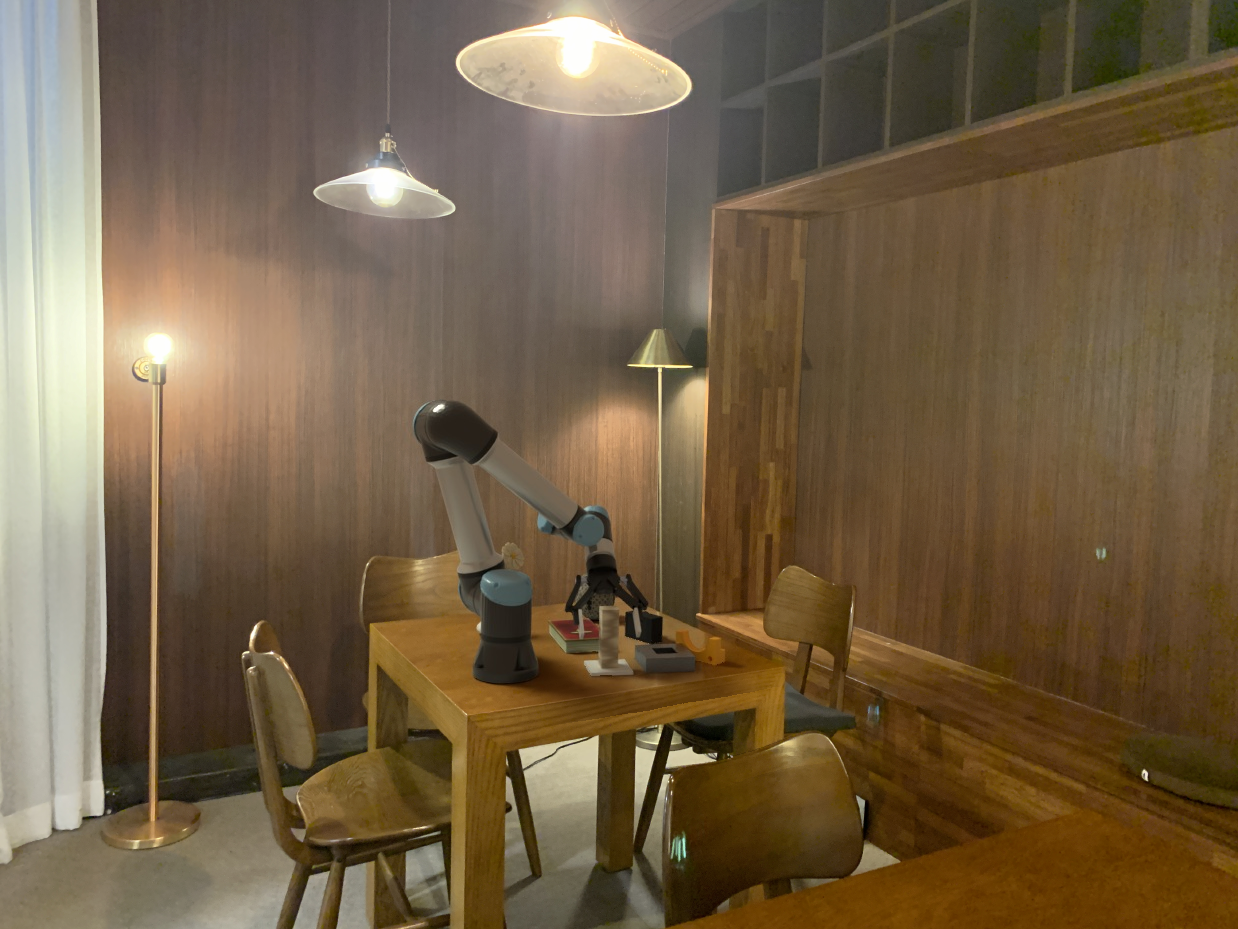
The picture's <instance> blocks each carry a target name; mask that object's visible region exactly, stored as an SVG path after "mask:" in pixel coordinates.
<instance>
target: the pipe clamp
mask: <svg viewBox="0 0 1238 929" xmlns="http://www.w3.org/2000/svg"><path fill="white" fill-rule="evenodd" d="M689 631H690V630H687V629H683V628H681V629H679V630H676V631H675V632H676V633H675V644H676V643H682V644H683V645H684V646H685V647H686V648H687V649H688V650H689V651H690V652H691V653H692V654H693V655H694V656H695V660H697V661H696V662H699V661H701V662H700V663H703V662H705V663H704V664H707V663H708V664H707V665H711V664H712V665H711V666H718V665H720V664H723V663H725V662H726V649H725V648H722V637H719V636H713V637H710V638H708V643H707V645H706V647H703V648H698V647H697V646H695V644H694V643H693V642H692V640H691V638H690V634H689ZM722 662H723V663H722ZM717 664H718V665H717Z"/></svg>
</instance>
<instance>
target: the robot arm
mask: <svg viewBox="0 0 1238 929" xmlns="http://www.w3.org/2000/svg"><path fill="white" fill-rule="evenodd" d="M412 430H413V434H414V436H415V439H416V440H417V441H418V443H419V444H420V445H421V447H422V451H423V455H424V457H425V458H424V459H425V461H426V464H428V465H430V466H432V467H433V468H434V469H435V473H436V477H437V480H438V484H439V487H440V491H441V496H442V498H443V502H444V506H445V510H446V513H447V516H448V520H449V523H450V527H451V532H452V534H453V538H454V542H455V546H456V550H457V553H458V556H459V559H460V561H459V564H458V566H457V567H456V572H457V576H458V577H457V578H458V580H459V581H458V585H457V590H458V595H459V598H460V601H461V603H462V604H463V606H464V607H465V608H466V609H468V610H469V611H470V612H472V613H474V614H475V615H477V616H478V617H479V618H480V622H481V633H480V642H479V645H478V649H477V652H476V655H475V658H474V660H473V664H472V676H473V677H474V678H475V679H476V678H477V680H479V681H482V682H485V683H493V684H514V683H515V684H516V683H521V682H527V681H531V680H532V679H534V678H537V676H538V675H539V661H538V658H537V655H536V652H535V649H534V646H533V643H532V621H533V620H532V618H533V617H532V616H533V614H532V613H533V610H532V609H533V593H534V591H533V584H532V579H531V578H530V576H529V575H528V574H526V573H525V572H522V571H519V570H515V569H512V570H509V569H510V568H509V569H507V568H506V564H505V562H504V559H503V556H502V554H500V553H499V552H497V551H496V550H495V547H494V543H493V538H492V535H491V531H490V528H489V523H488V520H487V517H486V516H487V515H486V513H485V512H486V511H485V509H484V506H483V505H484V504H483V501H482V498H481V494H480V490H479V487H478V482H477V480H476V476H475V471H474V468H473V466H478V467H480V468H481V469H483V470H484V471H485V472H486V473H487V474H489V475H490V476H491V477H493V478H494V479H495V480H496V481H498V482H499V483H500V484H501V485H502V486H504V487H505V489H506V488H507V490H509V491H510V492H511V493H513V494H514V495H515V496H516V497H518V498H519V499H520V500H521V501H523V503H525V504H527V505H528V506H529V507H530V508H532V509H533V510H534V511H536V512H537V513H538V516H537V524H536V525H537V528H538V531H540V532H541V533H544V534H547V535H549V536H554V537H555V536H556V537H559V538H561V539H564V540H567V541H570V542H571V543H575V544H577V545H579V546H581V547H583V549H584V551H583V552H584V559H585V560H584V561H585V568H586V572H587V578H586V577H582V576H581V575H580V574H577V575H576V576H575V580H574V586H573V588H572V591H571V593H570V594H569V596H568V598H567V601H566V603H565V607H564V612H565V613H567V614H568V613H571V616H572V619H573V621H574V625H578V627H579V636H580V639H583V637H584V625H583V619H584V618H583V617H584V616H583V615H582V609H581V608H582V607H583V606H584V605H585V604H586V602H587V601H588V600H589V599H590V598H591V597H592V596H593V595H594V594H595V593H597V594H598V595H602V594H611V593H613V594H614V595H615V597H618V598H619V599H620V600H621V601H622V602H623V603H624V604H626V605H627V606H628V607H629V608H631V609H632V611H633V610H634V611H633V619H634V625H635V632H636V637H640V634H641V626H640V624H641V623H642V621H643V613H642V611H647V609H648V607H649V601H648V600H647V599H646V597H645V596H644V595H643V593H642V592H641V590H640V589H639V588H638V587H637V586H636V584H635V582H634V581H633V578H632V575H631V574H630V573H627V574H625V575H624V576H620V575H619V573H618V568H617V561H616V553H615V548H614V543H613V542H614V541H613V540H614V539H613V534H612V527H611V526H612V524H611V520H610V516H609V512H608V510H607V509H606V508H605V507H604V506H601V505H599V504H598V505H597V504H596V505H594V506H593V505H588V506H585V507H584V508H583V507H582V506H581V505H579V504H578V503H577V502H575V500H573V499H572V498H571V497H569V496H568V495H567V494H566V493H564V492H563V490H561V489H560V488H559V487H557V486H556V485H555V484H554V483H553V482H551V481H550V480H549V479H548V478H547V477H546V476H544V475H543V474H542V473H540V472H539V471H538V470H537V469H536V468H535V467H533V466H532V465H531V464H530V463H529V462H528V461H526V460H525V459H524V458H523V457H521V456H520V455H519V453H517V452H515V451H514V450H513V449H512V448H510V447H509V446H508V445H507V444H506V443H505V442H503V441H502V440H501V439H500V433H499V432H498V431H497V430H496V429H495V428H493V426H491V425H490V424H489V423H488V422H487V421H486V420H485V419H483V417H481V415H479V413H477V412H476V411H475V410H474V409H473V408H472V407H470V406H469V405H468V404H466V403H464V402H462V401H457V400H454V399H453V400H450V399H449V400H446V399H437V400H436V399H435V400H434V399H433V400H432V401H429V402H426V403H425V404H423V405H422V406H420V407H419V408H418V410H417V411H416V412H415V414H414V417H413V420H412ZM584 583H586V584H587V585H588V586H589V588H588V590H587V591H586V592H585V593H584V595H583V596H582V597H581V598H580V599H579V600H578V602H577V603H576V602H575V598H576V596H577V594H578V592H579V589H580V587H582V586H583V585H584ZM620 583H622V584H623V586H624V587H626V589H627V590H628V592H627V591H626V590H625V589H624V588H623V586H622V585H621V584H620ZM629 593H630V594H629Z"/></svg>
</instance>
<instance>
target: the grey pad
mask: <svg viewBox="0 0 1238 929" xmlns="http://www.w3.org/2000/svg"><path fill="white" fill-rule="evenodd" d="M583 664H584V666H586V667H585V668H586V671H587V672H588V673H590V674H589V676H590V675H591V676H590V677H601V676H600V675H612V676H625V675H626V676H633V675H634V671H633V669H632V667H631V666H630V665H629V663H628V662H627V661H626V659H625V658H621V659H620V658H618V668H605V669H601V667H600V666H599V664H598V659H593V660H584V661H583Z"/></svg>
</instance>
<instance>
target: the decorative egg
mask: <svg viewBox="0 0 1238 929" xmlns="http://www.w3.org/2000/svg"><path fill="white" fill-rule="evenodd" d="M581 577H586V578H587V571H585V572H584V574H582V576H581ZM588 588H589V586H588V585H587V584H586V583H584V585H583V586H582V587H580V589H579V592H578V594H577V596H576V598H575V600H574V602H575V604H576V603H577V602H578V600H579V599H580V598H581V597H582V596H583V595H584V593H585V592H586V591H587V590H588ZM615 601H616V596H615V595H614V594H613V593H611V594H602V595H598V594H597V593H595V594H594V595H593V596H592V597H591V598H590V599H589V600H588V601H587V602H586V604H585V605H584V606H583V607H582V608H581V609H582V616H583V617H585V619H586V618H589V619H590V620H591V621H592V620H594V621H597V620H599V606H615Z"/></svg>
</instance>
